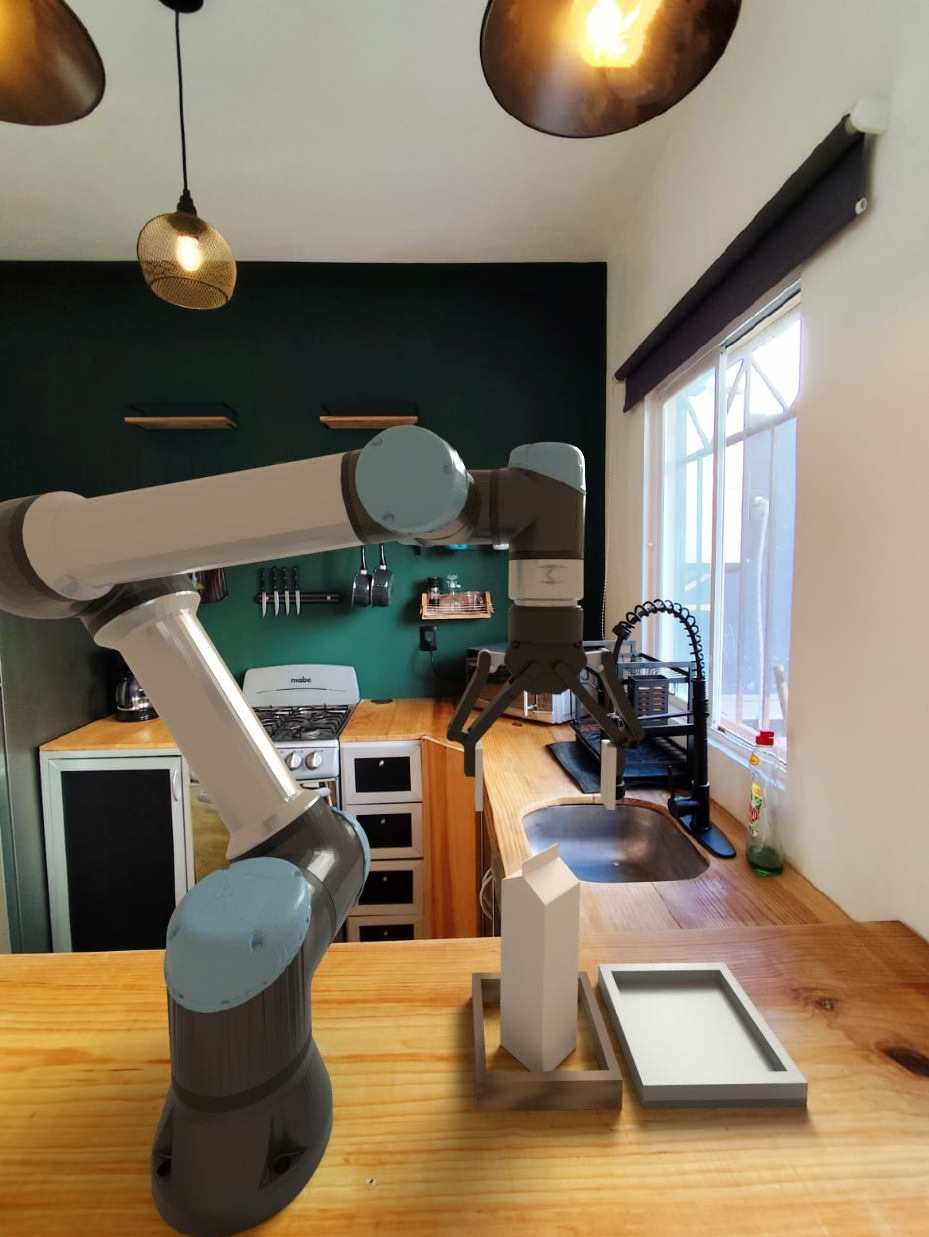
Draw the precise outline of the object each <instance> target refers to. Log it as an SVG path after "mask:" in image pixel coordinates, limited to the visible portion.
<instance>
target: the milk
mask: <svg viewBox="0 0 929 1237" xmlns="http://www.w3.org/2000/svg"><path fill="white" fill-rule="evenodd" d="M559 848H560V846H559V843H554V844H552V845H551V846H548V847H547V848H545V849H543V850H542V851H539V852H538V853H536V854H534V855H532V856H531V857H529V858H527V859H525V860H523V862H522V865H521V866H522V868H521V869H519V870H517V871H515V872H512V874H510V875H508V876H507V877H504V878H502V879H501V889H500V890H501V892H500V894H501V895H500V896H501V897H500V898H501V899H500V900H501V905H500V906H501V907H500V910H501V911H500V914H501V918H500V924H501V925H500V972H501V996H500V1002H499V1003H500V1005H499V1006H500V1008H499V1009H500V1012H499V1013H500V1017H499V1019H500V1020H499V1026H500V1027H499V1044H500V1045H501V1047H503V1048H504V1049H505V1050H506V1051H508V1053H509V1054H511V1055H512V1056H513V1057H514V1058H516V1060H517V1061H519V1063H521V1064H522V1065H523V1067H525V1068H527V1070H528V1071H529V1072H531V1071H555V1069H556V1068H557V1067H558V1066H559V1065H560V1064H561V1063H562V1062H563V1061H565V1059H566V1058H567V1057H568V1056H569V1055H570V1054H571V1053H572V1052H573V1051H574V1050H575V1049H576V1048H577V1040H578V1035H577V1034H578V1002H579V1001H578V972H579V956H580V955H579V952H580V951H579V948H580V947H579V946H580V945H579V944H580V936H579V935H580V908H581V907H580V905H581V904H580V902H581V898H580V895H581V882H580V880H579V878H577V876H576V875H575V874H574V873H573V872H572V870H571V869H570V867H568V866H567V864H566V863H565V862H564V861H563V860H562V858H561V857H560V856H559V854H560V853H559Z"/></svg>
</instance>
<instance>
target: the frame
mask: <svg viewBox="0 0 929 1237" xmlns="http://www.w3.org/2000/svg"><path fill="white" fill-rule="evenodd" d="M500 996H501V971H500V972H499V971H498V972H471V1000H472V1001H471V1003H472V1004H471V1010H472V1029H473V1053H474V1056H473V1058H474V1076H475V1078H474V1079H475V1098H476V1100H475V1101H476V1102H475V1104H476V1112H500V1111H501V1112H502V1111H504V1112H505V1111H507V1112H508V1111H509V1112H510V1111H511V1112H512V1111H514V1112H515V1111H557V1110H558V1111H559V1110H560V1111H561V1110H565V1111H566V1110H567V1111H569V1110H570V1111H571V1110H621V1109H623V1095H624V1094H623V1092H624V1091H623V1086H624V1085H623V1084H624V1079H623V1075H622V1073H621V1070H620V1067H619V1064H618V1062H617V1058H616V1056H615V1052H614V1049H613V1047H612V1043H611V1040H610V1037H609V1034H608V1032H607V1031H608V1030H607V1028H606V1025H605V1023H604V1019H603V1016H602V1013H601V1011H600V1010H601V1009H600V1006H599V1005H598V1001H597V998H596V996H595V992H594V989H593V987H592V983H591V981H590V977H589V974H588V971H578V1001H577V1002H579V1003H580V1006H581V1009H582V1012H583V1015H584V1016H583V1017H584V1021H585V1023H586V1026H587V1029H588V1033H589V1036H590V1040H591V1043H592V1044H591V1045H592V1047H593V1049H594V1050H593V1051H594V1053H595V1056H596V1060H597V1064H598V1067H599V1070H598V1069H597V1070H553V1071H487V1058H486V1057H487V1055H486V1054H487V1053H486V1040H485V1039H486V1038H485V1026H484V1025H485V1024H484V1023H485V1022H484V1010H483V1009H484V1008H483V1003H500Z"/></svg>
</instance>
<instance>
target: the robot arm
mask: <svg viewBox="0 0 929 1237" xmlns="http://www.w3.org/2000/svg"><path fill="white" fill-rule="evenodd" d="M585 475H586V474H585V458H584V455H583V453H582V451H581V450H580V449H579V448H578V447H576V446H574V445H571V444H568V443H565V442H556V441H555V442H553V441H551V442H550V441H544V442H541V441H540V442H535V443H532V444H531V443H528V444H522V445H519V446H517V447H515V448H514V449H513V450H511V452H510V454H509V461H508V463H507V467H503V468H499V469H496V468H495V469H466V467H465V465H464V461H463V459H462V458H461V457H460V456H459V454H458V452H457V450H456V449H454V448H453V447H452V446H451V444H449V443H448V442H447V441H446V440H444V439H443V438H442V437H439V436H438V435H437V434H436V433H434V432H432V431H431V430H429V429H427V428H424V427H420V426H418V425H417V426H416V425H411V424H404V425H396V426H391V427H389V428H386V429H385V430H383V431H382V432H380V433H378V434H377V435H376V436H373V438H372V439H371V440H370V441H369V442H368V443H367V444H365V446H364V447H363V448H359V449H355V450H349V451H346V452H340V453H334V454H330V455H323V456H318V457H317V456H316V457H312V458H306V459H301V460H296V461H290V462H283V463H279V464H274V465H267V466H263V467H256V468H251V469H246V470H240V471H233V472H230V473H229V472H228V473H222V474H217V475H212V476H206V477H201V478H195V479H190V480H185V481H178V482H172V483H167V484H163V485H162V484H161V485H155V486H151V487H145V488H144V487H143V488H139V489H134V490H128V491H123V492H115V493H112V494H106V495H100V496H94V497H89V498H86V497H84V496H82V495H80V494H77V493H74V492H71V491H63V490H62V491H51V492H47V493H41V494H35V495H30V496H25V497H24V496H23V497H19V498H14V499H8V500H6V501H5V500H4V501H3V502H0V610H1V611H3V612H4V611H5V612H7V613H10V614H13V615H15V616H20V617H25V618H30V619H36V620H37V619H40V620H56V619H57V620H58V619H73V618H80V620H81V622H82V624H83V625H84V627H85V628H86V630H87V631H88V632H89V634H90V636H91V638H92V640H93V641H94V643H95V644H96V645H97V646H99V647H104V648H108V649H112V650H116V651H118V652H119V653H120V654H121V656H122V658H123V659H124V661H125V663H126V664H127V666H128V667H129V669H130V671H131V672H132V674H133V675H134V676H133V677H134V678H135V679H136V681H137V682H138V685H140V687H141V689H142V691H143V693H144V694H145V695H146V698H147V699H148V700H149V701H148V702H150V704H151V705H152V707H153V709H154V710H155V712H156V714H157V715H158V717H159V718H160V721H161V722H162V724H163V725H164V727H165V729H166V730H167V732H168V733H169V735H170V737H171V738H172V740H173V742H174V743H175V745H176V747H177V748H178V750H179V752H180V753H181V755H182V757H183V758H184V760H185V761H186V764H187V765H188V767H189V768H190V769H191V771H192V773H193V774H194V776H195V778H196V780H197V781H198V782H199V785H200V786H201V788H202V789H203V791H204V792H205V794H206V795H207V797H208V800H209V801H210V802H211V804H212V806H213V808H214V809H215V811H216V813H217V814H218V816H219V817H220V819H221V821H222V822H223V824H224V826H225V827H226V829H227V830H228V832H229V835H230V836H229V842H228V846H227V850H226V853H225V858H226V860H227V861H228V863H229V868H227V869H224V870H223V869H220V868H219V869H217V870H215V871H213V872H211V873H210V874H208V875H206V876H205V877H203V878H202V879H201V880H199V881H198V882H197V883H196V884H194V885H193V886H192V887H191V888H190V889H189V890H188V891H186V893H185V894H184V896H182V898H181V899H180V900H179V902H178V904H177V905H176V906H175V909H174V910H173V912H172V914H171V917H170V919H169V923H168V926H167V930H166V945H165V946H166V947H165V951H164V958H163V971H164V972H163V976H164V977H163V978H164V983H165V985H166V986H165V987H166V997H167V998H166V1000H167V1001H166V1002H167V1004H166V1005H167V1021H168V1036H169V1037H168V1038H169V1039H168V1040H169V1055H170V1056H169V1057H170V1076H171V1082H170V1085H169V1088H168V1092H167V1095H166V1097H165V1102H164V1105H163V1108H162V1111H161V1114H160V1117H159V1122H158V1123H157V1127H156V1130H155V1133H154V1137H153V1142H152V1145H151V1146H152V1148H151V1154H150V1174H151V1175H150V1176H151V1178H150V1179H151V1190H152V1191H151V1192H152V1197H153V1201H154V1203H155V1207H156V1209H157V1211H158V1213H159V1214H160V1216H161V1217H162V1218H163V1220H164V1221H165V1222H166V1223H167V1224H168V1225H169V1226H170V1227H172V1228H173V1229H175V1230H176V1231H178V1232H180V1233H182V1234H185V1235H188V1236H192V1237H225V1236H230V1235H234V1234H238V1233H241V1232H243V1231H245V1230H248V1229H250V1228H252V1227H254V1226H257V1225H259V1224H261V1223H262V1222H264V1221H265V1220H268V1219H269V1218H271V1217H272V1216H273V1215H275V1214H276V1213H277V1212H279V1211H280V1210H281V1209H283V1208H284V1207H285V1206H286V1205H287V1204H288V1203H289V1202H290V1201H291V1200H293V1198H294V1197H296V1196H297V1194H299V1192H300V1191H301V1190H302V1189H303V1188H304V1187H305V1185H306V1184H307V1183H308V1181H310V1179H311V1178H312V1176H313V1175H314V1173H315V1172H316V1169H317V1168H318V1167H319V1165H320V1163H321V1162H322V1159H323V1158H324V1154H326V1150H327V1147H328V1144H329V1142H330V1138H331V1133H332V1129H333V1118H334V1109H333V1108H334V1105H333V1102H334V1101H333V1088H332V1087H333V1086H332V1081H331V1077H330V1074H329V1072H328V1069H327V1068H326V1065H325V1063H324V1062H325V1061H324V1060H323V1058H322V1055H321V1052H320V1051H319V1048H318V1046H317V1043H316V1040H315V1038H314V1037H313V1028H312V1025H313V1024H312V1022H313V1021H312V983H313V978H314V975H315V973H316V971H317V969H318V967H319V966H320V964H321V961H322V960H323V958H324V957H325V955H326V953H327V951H328V949H329V948H330V947H331V945H332V944H333V941H334V940H335V937H336V936H337V934H338V932H340V929H341V927H342V926H343V924H344V922H345V920H346V918H347V917H348V915H349V914H350V912H351V910H352V909H353V908H354V907H355V906H356V905H357V902H358V900H359V899H360V897H361V895H362V893H363V890H364V886H365V883H366V881H367V878H368V876H369V872H370V866H371V849H370V844H369V841H368V836H367V834H366V832H365V830H364V828H363V827H362V826H361V824H360V822H359V821H358V820H357V819H356V818H355V817H354V816H353V815H352V814H350V812H347V811H345V810H340V809H338V808H337V807H335V806H331V805H328V804H327V802H326V801H325V799H324V798H323V795H322V794H321V793H320V792H319V791H318V790H314V789H313V790H312V789H307V788H303V787H302V786H300V785H299V783H298V781H297V780H296V778H295V776H294V775H293V773H292V772H291V770H290V768H289V766H288V765H287V763H286V762H285V760H284V758H283V757H282V755H281V754H280V752H279V750H278V748H277V747H276V745H275V744H274V742H273V740H272V739H271V737H270V735H269V733H268V732H267V730H266V729H265V727H264V726H263V724H262V722H261V721H260V719H259V718H258V716H257V714H256V712H255V710H254V709H253V708H252V706H251V704H250V703H249V701H248V699H247V697H246V696H245V694H244V692H243V691H242V690H241V687H240V686H239V684H238V683H237V681H236V679H235V678H234V676H233V675H232V673H231V671H230V669H229V668H228V666H227V665H226V663H225V661H224V660H223V658H222V657H221V655H220V653H219V652H218V650H217V648H216V646H215V645H214V644H213V642H212V640H211V638H210V637H209V635H208V634H207V632H206V629H205V628H204V627H203V625H202V624H201V622H200V620H199V618H198V617H197V611H198V609H199V608H198V607H199V604H200V602H201V600H202V599H201V596H200V594H199V592H198V590H197V589H196V585H197V577H196V573H197V572H201V571H208V570H213V569H220V568H225V567H226V568H227V567H233V566H239V565H244V564H252V563H258V562H265V561H270V560H271V561H272V560H278V559H283V558H289V557H290V558H291V557H295V556H301V555H307V554H309V555H310V554H314V553H321V552H327V551H334V550H340V549H346V548H352V547H358V546H359V547H360V546H364V545H375V544H377V545H378V544H385V543H390V542H398V543H399V544H402V545H404V546H407V545H408V546H419V547H426V548H430V547H431V548H432V547H434V546H462V545H463V546H466V545H468V546H469V545H505V544H506V545H508V549H509V552H508V598H509V599H510V600H513V602H514V603H513V604H511V605H510V607H509V608H508V635H507V636H508V643H507V648H506V650H505V652H497V651H489V650H488V649H487V648H485V647H484V648H481V649H479V650H478V653H477V661H476V669H475V671H474V673H473V675H472V677H471V679H470V681H469V682H468V685H467V687H466V689H465V691H464V692H463V695H462V696H461V699H460V701H459V702H458V705H457V706H456V709H455V710H454V713H453V715H452V717H451V719H450V721H449V723H448V724H447V726H446V739H447V740H448V741H449V742H455V743H459V744H460V745H461V746H462V747H463V772H464V775H465V777H467V778H472V777H474V785H473V786H474V787H473V788H474V799H473V800H474V807H475V809H474V811H475V812H483V811H484V803H483V802H484V785H483V784H484V748H483V741H482V740H481V739H482V737H484V735H485V734H486V733H487V732H488V731H489V730H490V729H491V728H492V726H493V725H494V724H495V722H497V720H499V718H500V717H501V716H502V715H503V713H504V712H505V711H506V710H507V709H508V708H509V706H510V705H511V704H512V703H513V702H514V701H515V700H517V699H518V698H519V697H520V695H521V694H522V693H523V692H525V693H528V694H530V695H531V696H539V695H543V694H544V695H545V694H549V695H554V696H561V695H562V694H564V693H566V692H567V691H568V690H569V691H570V693H572V694H573V696H575V698H576V699H577V700H578V701H579V702H580V704H581V705H582V706H583V707H584V708H585V710H586V712H588V713H589V714H590V716H591V717H592V718H593V719H594V720H595V721H596V723H597V725H599V726H600V727H601V728H602V730H603V731H604V733H606V735H607V736H608V737H609V739H602V740H601V756H600V757H601V758H600V759H601V760H600V761H601V762H600V763H601V764H600V765H601V766H600V769H601V770H600V800H601V802H602V803H603V805H604V807H605V809H606V810H607V811H615V810H616V789H617V788H616V786H617V785H616V781H617V779H616V778H617V776H624V774H625V772H626V754H627V752H626V749H629V747H630V745H631V742H633V741H642V740H643V739H644V738H645V736H646V733H645V730H644V728H643V726H642V724H641V722H640V720H639V717H638V716H637V713H636V712H635V709H634V706H632V703H631V702H630V698H629V696H628V694H627V693H626V691H625V689H624V687H623V685H622V683H621V681H620V678H619V676H618V674H617V673H616V672H617V670H616V669H617V668H616V660H615V658H616V657H615V654H614V653H613V652H612V651H610V650H608V649H606V648H604V647H600V648H598V649H597V650H595V651H588V652H587V651H585V650H584V644H583V641H584V640H583V638H584V633H583V632H584V608H582V606H581V605H578V601H580V600H582V599H583V598H584V558H585V556H584V554H585V553H584V551H585V529H586V527H585V526H586V525H585V524H586V495H587V491H586V477H585ZM588 664H589V665H591V668H592V670H593V671H595V672H596V673H598V674H599V676H600V679H601V681H602V683H603V685H604V688H605V689H606V691H607V693H608V696H609V698H610V700H611V703H612V705H613V706H614V708H615V710H616V712H617V714H618V716H619V719H620V721H621V722H622V725H623V726H622V727H620V728H619V727H618V726H617V725H616V724H615V722H614V721H613V720H612V719H611V717H610V716H609V715H608V714H607V713H606V711H604V709H603V708H602V707H601V705H600V704H599V703H598V702H597V701H596V700H595V698H594V697H593V696H592V695H591V693H590V692H589V691H588V690H587V689H586V687H585V686H584V685H583V684H582V683H581V682H580V679H578V677H579V676H580V675H581V673H582V672H583V670H584V669H585V668H586V667H587V665H588ZM500 665H505V667H506V669H507V670H508V672H510V674H511V675H510V676H509V678H508V680H507V681H505V683H504V684H503V687H502V688H501V689H500V690H499V691H498V692H497V694H496V695H495V696H494V697H493V698H492V699H491V700H490V702H489V703H488V704H487V705H486V706H485V708H483V710H482V711H481V713H479V714H478V716H477V717H476V718H475V719H474V720H473V722H472V723H471V724H470V725H469V726H467V728H465V727H464V726H465V724H466V723H467V721H468V720H469V717H470V715H471V713H472V711H473V709H474V706H475V705H476V703H477V702H478V699H479V697H480V695H481V693H482V691H483V690H484V687H485V685H486V683H487V681H488V679H489V676H490V673H491V674H493V673H495V672H496V671H497V669H498V667H499V666H500Z"/></svg>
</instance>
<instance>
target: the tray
mask: <svg viewBox="0 0 929 1237" xmlns="http://www.w3.org/2000/svg"><path fill="white" fill-rule="evenodd" d="M597 968H598V969H597V971H598V972H597V983H598V985H599V990H600V992H601V995H602V997H603V1000H604V1003H605V1006H606V1008H607V1011H608V1013H609V1017H610V1019H611V1022H612V1026H613V1029H614V1031H615V1034H616V1037H617V1040H618V1042H619V1046H620V1048H621V1052H622V1054H623V1056H624V1060H625V1062H626V1065H627V1068H628V1071H629V1073H630V1076H631V1079H632V1081H633V1085H634V1087H635V1091H636V1093H637V1096H638V1099H639V1102H640V1105H641V1108H642V1109H681V1108H682V1109H688V1108H691V1109H693V1108H696V1109H697V1108H699V1109H700V1108H738V1107H739V1108H745V1107H748V1108H750V1107H752V1108H753V1107H755V1108H756V1107H758V1108H759V1107H760V1108H761V1107H805V1106H806V1107H807V1105H808V1093H809V1092H808V1091H809V1090H808V1089H809V1082H808V1080H807V1079H806V1078H805V1077H804V1075H803V1074H802V1072H801V1070H800V1069H799V1067H798V1066H797V1065H796V1063H795V1062H794V1061H793V1059H792V1058H791V1055H790V1054H789V1053H788V1052H787V1050H786V1048H785V1047H784V1046H783V1045H782V1044H781V1041H779V1039H778V1037H777V1036H776V1034H775V1033H774V1032H773V1030H772V1029H771V1027H770V1026H769V1025H768V1023H767V1022H766V1020H765V1019H764V1018H763V1016H762V1015H761V1013H760V1011H759V1010H758V1009H757V1007H756V1006H755V1004H754V1003H753V1002H752V1000H751V999H750V997H749V996H748V994H747V993H746V992H745V990H744V989H743V987H742V986H741V985H740V983H739V981H738V980H737V979H736V977H735V976H734V975H733V973H732V972H731V970H730V969H729V968H728V966H727V965H726V963H725V962H670V963H669V962H663V963H662V962H659V963H656V962H655V963H645V962H644V963H598V967H597Z"/></svg>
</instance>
